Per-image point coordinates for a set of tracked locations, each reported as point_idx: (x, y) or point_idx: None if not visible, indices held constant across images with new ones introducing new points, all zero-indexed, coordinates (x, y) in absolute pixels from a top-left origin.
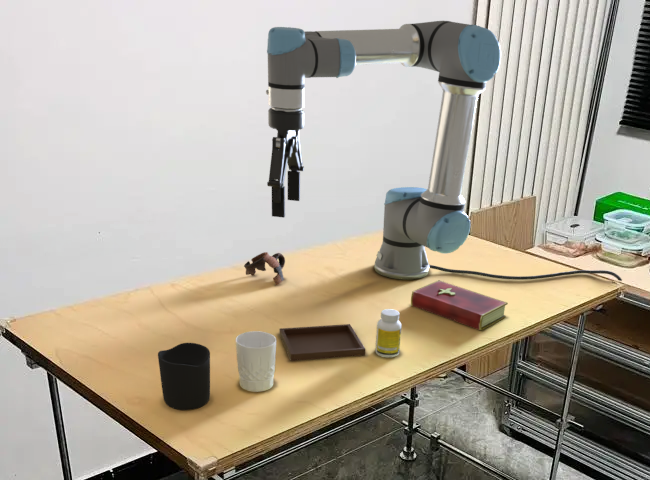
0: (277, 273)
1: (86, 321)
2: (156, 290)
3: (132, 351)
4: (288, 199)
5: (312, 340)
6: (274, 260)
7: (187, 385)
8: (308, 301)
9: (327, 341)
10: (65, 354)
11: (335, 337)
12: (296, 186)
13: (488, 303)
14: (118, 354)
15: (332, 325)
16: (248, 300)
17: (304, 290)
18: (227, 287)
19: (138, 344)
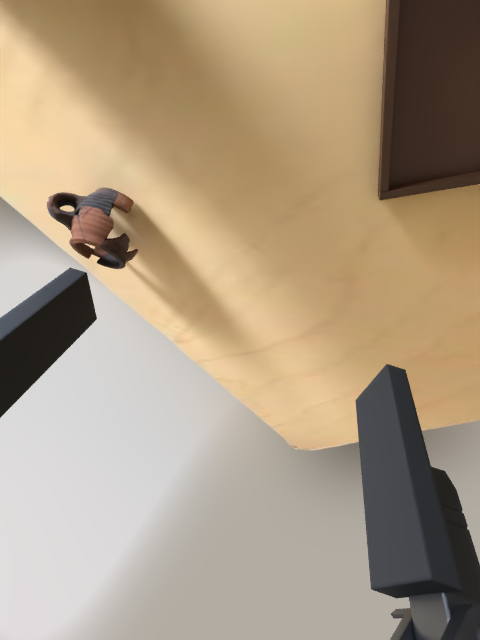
0: (112, 206)
1: (297, 410)
2: (201, 356)
3: None
4: (95, 317)
5: (440, 110)
6: (90, 220)
7: None
8: (195, 127)
9: (462, 59)
10: None
11: (440, 29)
12: (28, 334)
13: None
14: None
15: (390, 42)
16: (212, 251)
17: (137, 138)
18: (167, 281)
19: (371, 379)
